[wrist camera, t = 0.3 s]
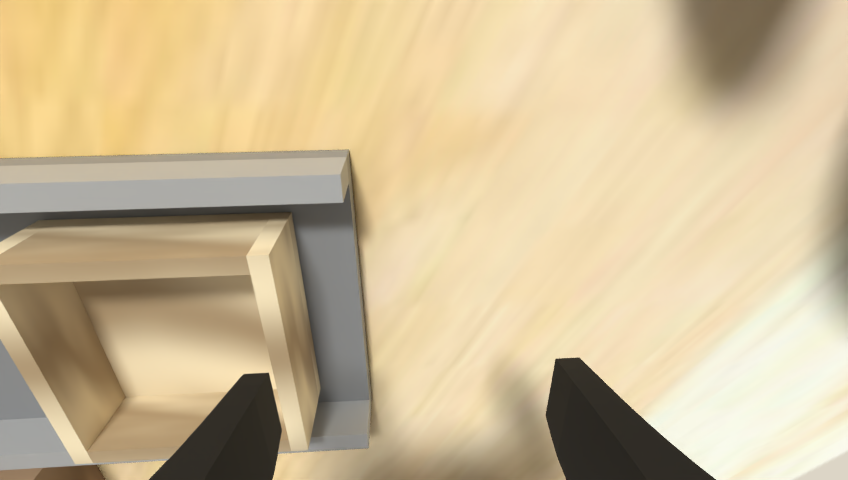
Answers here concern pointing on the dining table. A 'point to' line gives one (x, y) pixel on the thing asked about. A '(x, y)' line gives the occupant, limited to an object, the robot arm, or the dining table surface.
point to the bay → (207, 195)
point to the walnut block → (54, 473)
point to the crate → (156, 326)
